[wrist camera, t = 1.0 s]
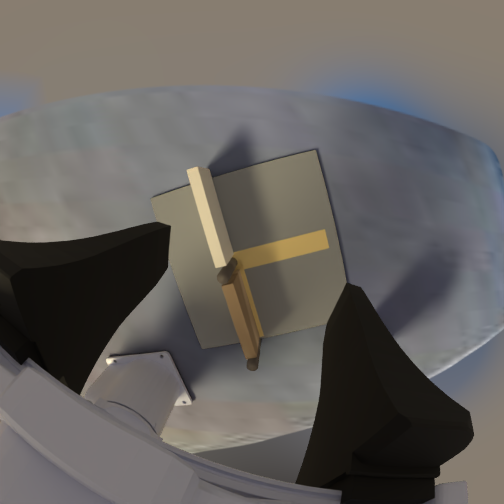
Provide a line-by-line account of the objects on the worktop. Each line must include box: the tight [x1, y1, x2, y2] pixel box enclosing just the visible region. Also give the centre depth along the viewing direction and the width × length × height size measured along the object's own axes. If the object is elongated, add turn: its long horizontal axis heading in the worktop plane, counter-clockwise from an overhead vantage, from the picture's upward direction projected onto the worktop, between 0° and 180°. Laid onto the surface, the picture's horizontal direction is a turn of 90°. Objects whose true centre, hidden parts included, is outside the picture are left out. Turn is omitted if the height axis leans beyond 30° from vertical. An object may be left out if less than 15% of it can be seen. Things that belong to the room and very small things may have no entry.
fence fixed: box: [217, 257, 261, 371], centre depth 26 cm, size 1×10×5 cm, turn 16°
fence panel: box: [187, 167, 234, 268], centre depth 24 cm, size 8×1×4 cm, turn 16°
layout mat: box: [151, 150, 347, 349], centre depth 27 cm, size 16×16×1 cm
